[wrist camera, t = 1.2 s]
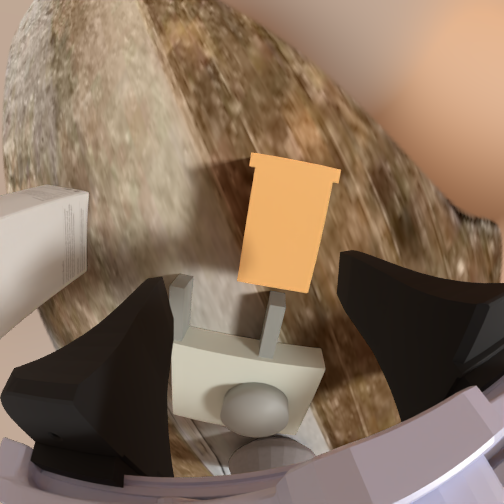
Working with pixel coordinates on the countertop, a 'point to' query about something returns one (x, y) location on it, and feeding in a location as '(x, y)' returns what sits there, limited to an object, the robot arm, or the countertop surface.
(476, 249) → the countertop surface
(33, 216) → the skincare box
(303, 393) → the grey stand
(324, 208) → the orange lidded tapered block
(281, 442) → the grey faceted tapered shape
